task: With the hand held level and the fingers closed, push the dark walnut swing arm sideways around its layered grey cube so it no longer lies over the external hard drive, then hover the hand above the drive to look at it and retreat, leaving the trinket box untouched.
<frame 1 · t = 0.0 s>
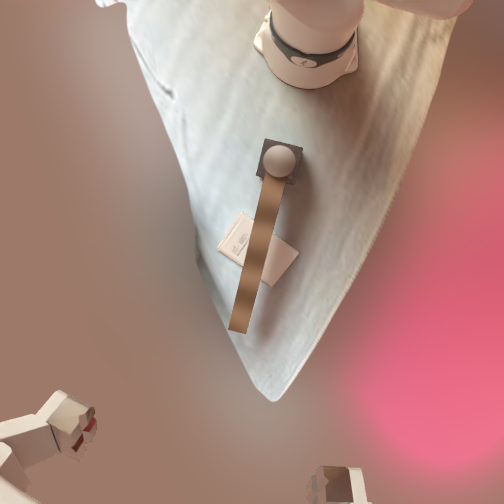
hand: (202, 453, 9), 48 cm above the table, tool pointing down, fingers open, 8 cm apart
external hard drive: (257, 248, 57), on the table
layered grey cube: (279, 161, 52), on the table
walnut swing arm: (259, 244, 47), point 9 cm above the table, hinge at 0.0°
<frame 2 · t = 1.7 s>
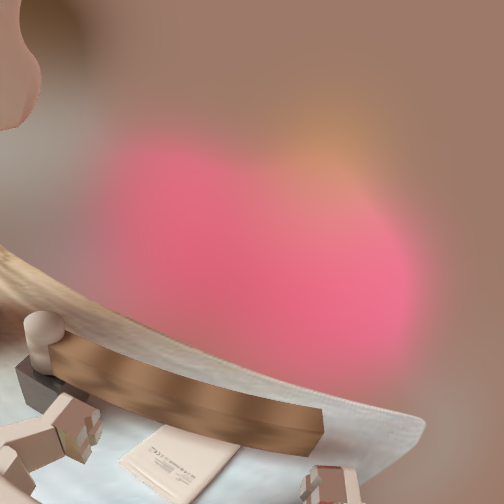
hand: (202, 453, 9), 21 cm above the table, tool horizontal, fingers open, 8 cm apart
external hard drive: (184, 457, 28), on the table
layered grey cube: (57, 400, 28), on the table
walnut swing arm: (156, 391, 25), point 9 cm above the table, hinge at 0.0°
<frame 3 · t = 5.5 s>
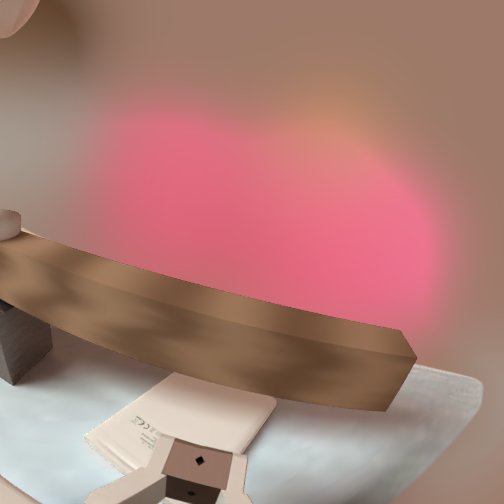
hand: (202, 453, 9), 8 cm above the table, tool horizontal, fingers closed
external hard drive: (187, 434, 19), on the table
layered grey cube: (9, 351, 19), on the table
walnut swing arm: (141, 306, 16), point 9 cm above the table, hinge at 0.0°
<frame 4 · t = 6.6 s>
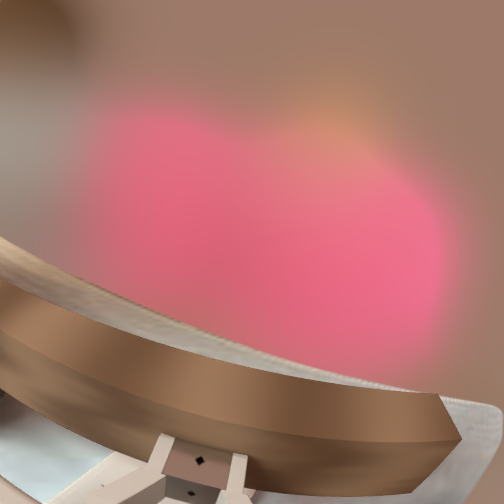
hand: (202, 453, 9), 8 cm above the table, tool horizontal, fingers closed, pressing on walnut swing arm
external hard drive: (165, 501, 13), on the table
walnut swing arm: (84, 371, 10), point 9 cm above the table, hinge at 0.2°, touching gripper
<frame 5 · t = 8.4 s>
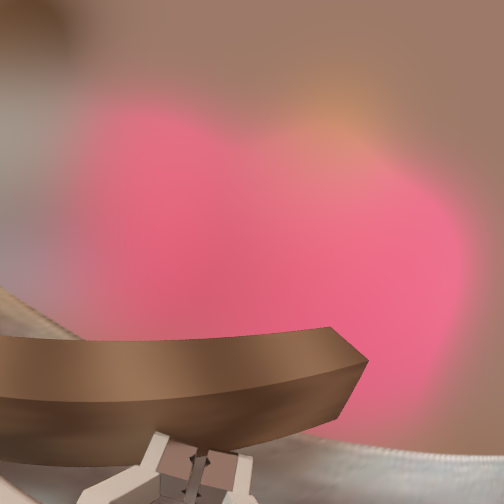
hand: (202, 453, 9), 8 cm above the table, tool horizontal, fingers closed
walnut swing arm: (4, 393, 7), point 9 cm above the table, hinge at 31.7°, touching gripper
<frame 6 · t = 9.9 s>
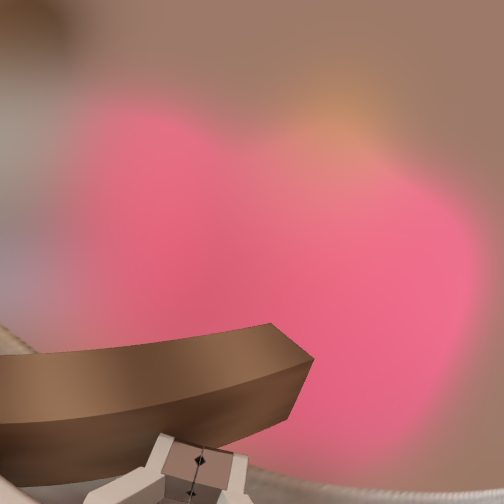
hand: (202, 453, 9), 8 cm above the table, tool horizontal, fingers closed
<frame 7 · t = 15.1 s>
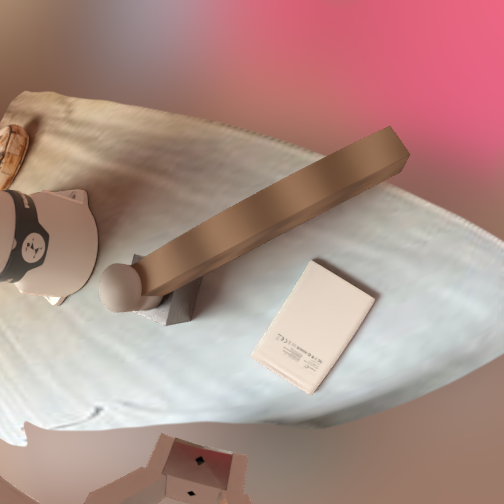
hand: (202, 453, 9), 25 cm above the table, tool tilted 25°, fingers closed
external hard drive: (313, 328, 33), on the table
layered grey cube: (175, 289, 37), on the table
walnut swing arm: (246, 224, 26), point 9 cm above the table, hinge at 41.6°
trinket box: (13, 163, 52), on the table
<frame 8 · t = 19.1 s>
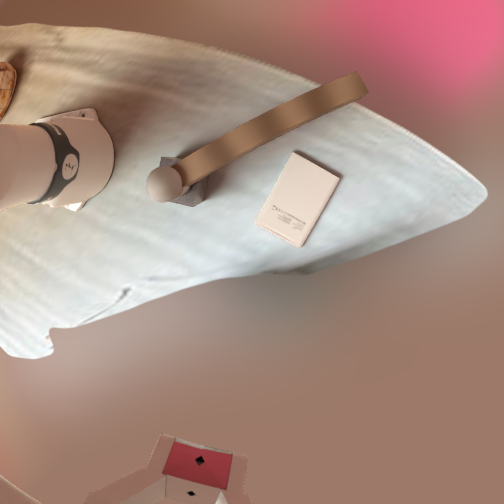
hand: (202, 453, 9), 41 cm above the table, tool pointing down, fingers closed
external hard drive: (296, 199, 47), on the table
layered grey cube: (188, 179, 47), on the table
walnut swing arm: (255, 133, 36), point 9 cm above the table, hinge at 41.6°
trinket box: (1, 97, 45), on the table
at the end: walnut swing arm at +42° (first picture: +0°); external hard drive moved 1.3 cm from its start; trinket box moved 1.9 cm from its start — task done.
